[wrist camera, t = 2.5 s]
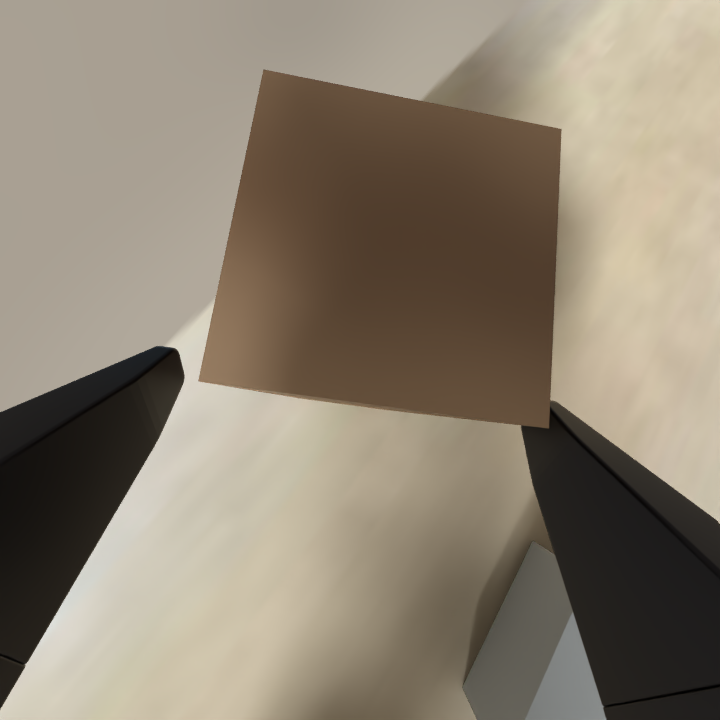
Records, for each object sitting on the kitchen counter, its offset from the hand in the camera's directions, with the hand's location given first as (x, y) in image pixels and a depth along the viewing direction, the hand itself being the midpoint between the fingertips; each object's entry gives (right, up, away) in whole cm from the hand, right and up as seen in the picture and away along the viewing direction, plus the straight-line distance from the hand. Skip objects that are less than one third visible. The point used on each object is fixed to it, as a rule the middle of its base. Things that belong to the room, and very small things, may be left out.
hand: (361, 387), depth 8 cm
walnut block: (-1, +1, +10) cm, 10 cm away
